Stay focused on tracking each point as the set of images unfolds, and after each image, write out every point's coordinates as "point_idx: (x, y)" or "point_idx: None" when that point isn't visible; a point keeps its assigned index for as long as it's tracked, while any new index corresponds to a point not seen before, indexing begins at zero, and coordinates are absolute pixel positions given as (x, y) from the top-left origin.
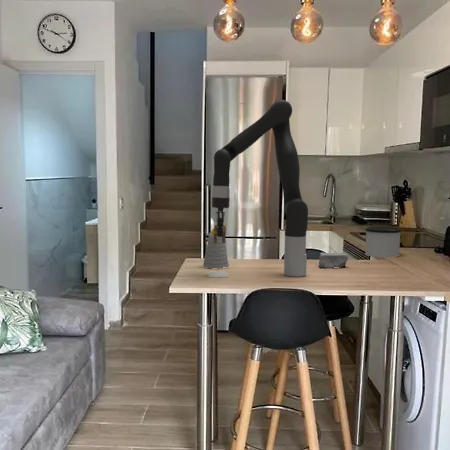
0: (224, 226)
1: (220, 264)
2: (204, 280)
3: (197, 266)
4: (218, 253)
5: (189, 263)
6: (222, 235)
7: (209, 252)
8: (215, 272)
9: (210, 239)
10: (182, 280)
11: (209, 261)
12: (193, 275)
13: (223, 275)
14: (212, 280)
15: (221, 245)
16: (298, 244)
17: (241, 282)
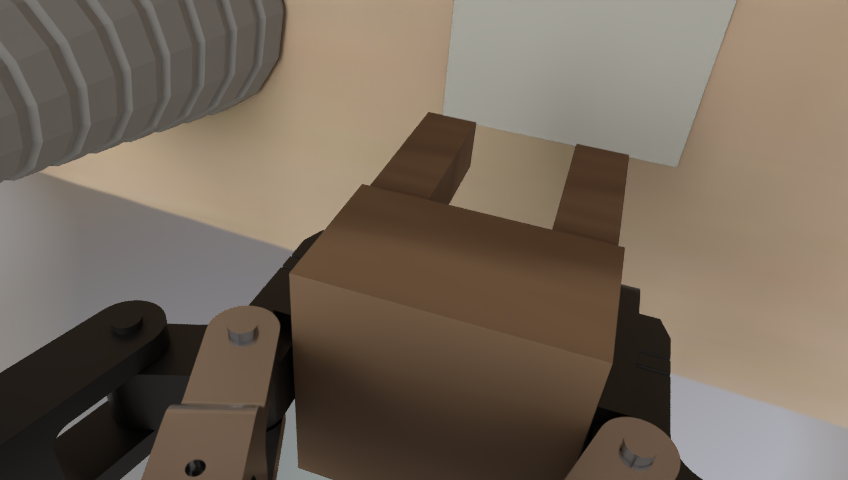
0: (419, 335)
1: None
2: (799, 227)
3: (183, 143)
4: (163, 29)
5: (80, 171)
6: (637, 296)
7: (151, 122)
8: (490, 66)
9: (13, 173)
10: (728, 363)
11: (227, 92)
12: None
13: (667, 18)
14: (833, 163)
15: (56, 11)
16: None
17: None
